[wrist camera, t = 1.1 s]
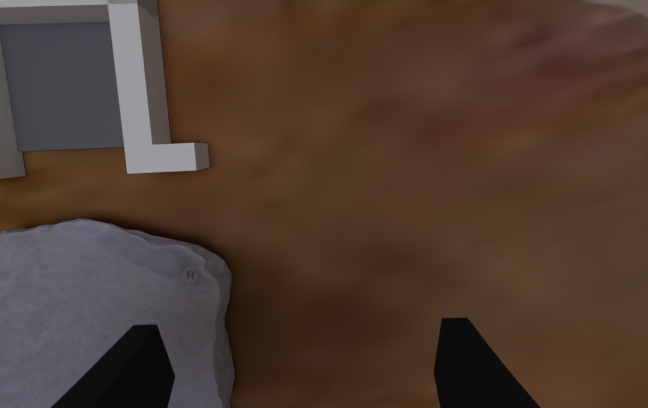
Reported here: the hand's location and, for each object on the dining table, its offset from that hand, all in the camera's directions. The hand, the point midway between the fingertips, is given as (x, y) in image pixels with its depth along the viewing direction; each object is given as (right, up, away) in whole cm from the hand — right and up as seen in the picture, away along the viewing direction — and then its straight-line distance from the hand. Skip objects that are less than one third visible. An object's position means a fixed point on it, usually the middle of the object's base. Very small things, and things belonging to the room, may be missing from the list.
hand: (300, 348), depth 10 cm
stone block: (-10, -2, +11) cm, 15 cm away
